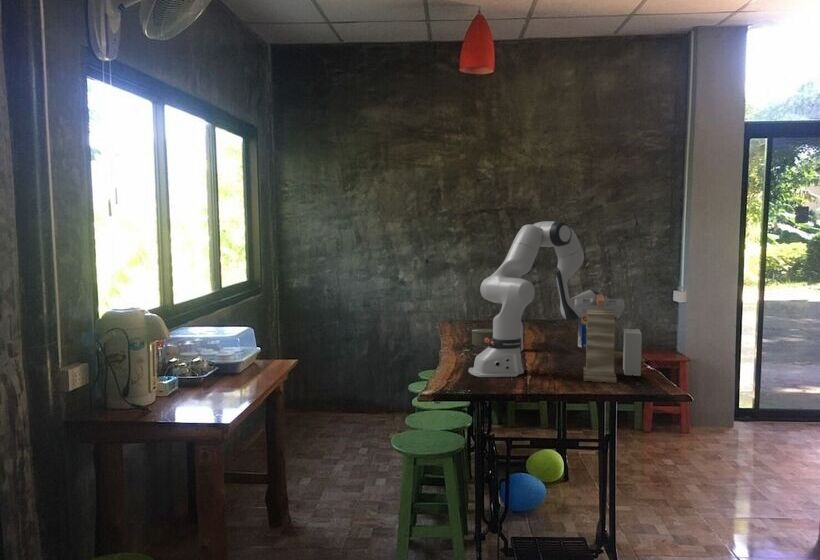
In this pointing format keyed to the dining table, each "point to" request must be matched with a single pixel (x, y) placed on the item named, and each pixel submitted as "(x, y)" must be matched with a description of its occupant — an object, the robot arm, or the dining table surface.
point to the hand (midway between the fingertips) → (599, 297)
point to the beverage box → (582, 331)
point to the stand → (600, 346)
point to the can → (481, 336)
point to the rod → (600, 300)
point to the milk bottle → (521, 335)
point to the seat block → (632, 352)
